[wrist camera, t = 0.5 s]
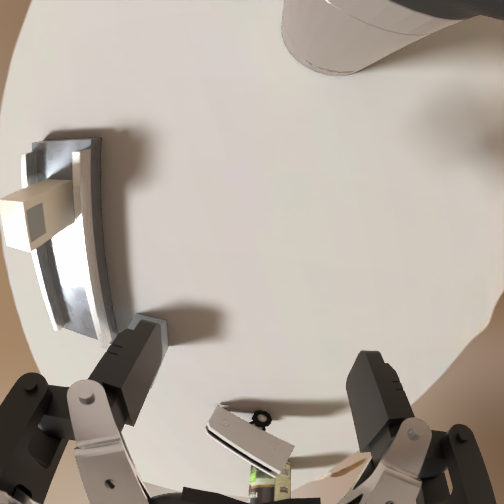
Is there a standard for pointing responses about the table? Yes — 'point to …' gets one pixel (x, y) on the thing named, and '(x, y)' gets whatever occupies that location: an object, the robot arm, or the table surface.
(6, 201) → the block
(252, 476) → the coffee can
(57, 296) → the tray
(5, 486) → the robot arm
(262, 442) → the grey wheeled device
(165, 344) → the block
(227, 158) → the table surface
